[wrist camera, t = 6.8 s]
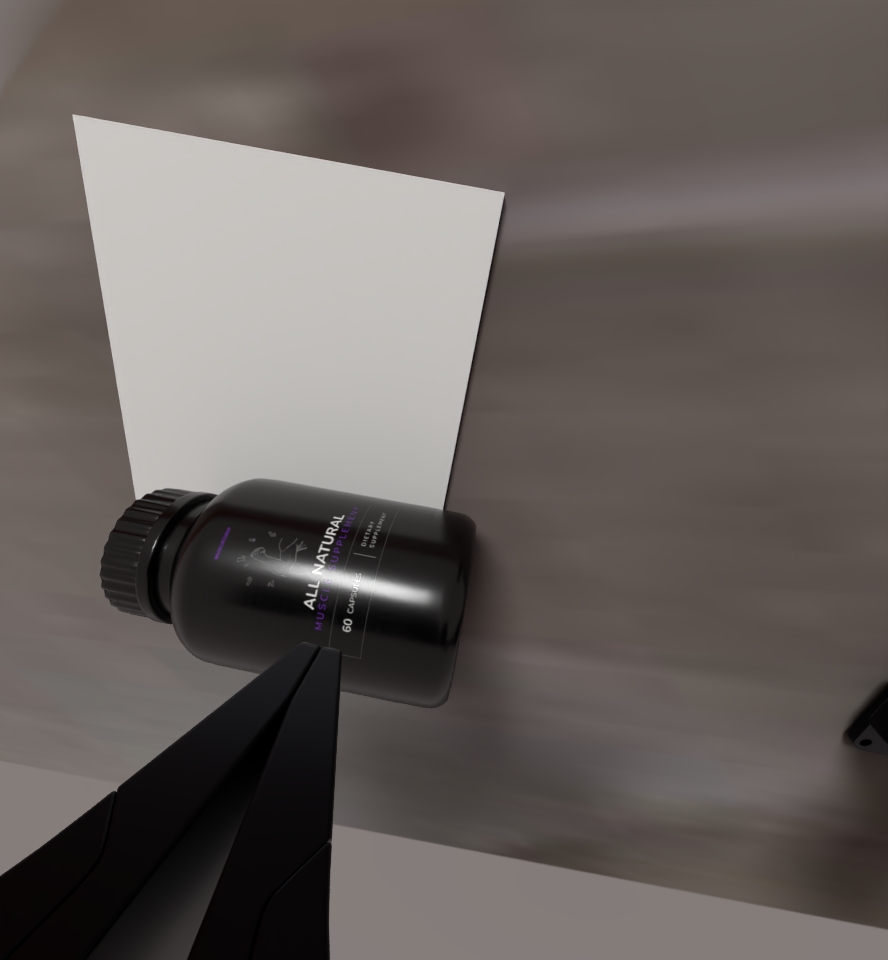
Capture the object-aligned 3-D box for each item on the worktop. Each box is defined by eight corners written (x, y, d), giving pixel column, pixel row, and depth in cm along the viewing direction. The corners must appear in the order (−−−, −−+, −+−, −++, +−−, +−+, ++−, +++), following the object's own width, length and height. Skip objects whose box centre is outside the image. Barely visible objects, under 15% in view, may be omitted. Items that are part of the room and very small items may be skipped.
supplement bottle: (472, 599, 11) (31, 522, 11) (441, 757, 14) (96, 690, 14) (481, 481, 17) (196, 436, 17) (458, 609, 20) (217, 566, 20)
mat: (504, 194, 13) (504, 192, 13) (415, 651, 21) (414, 656, 21) (81, 118, 13) (72, 114, 13) (156, 594, 22) (152, 598, 22)
